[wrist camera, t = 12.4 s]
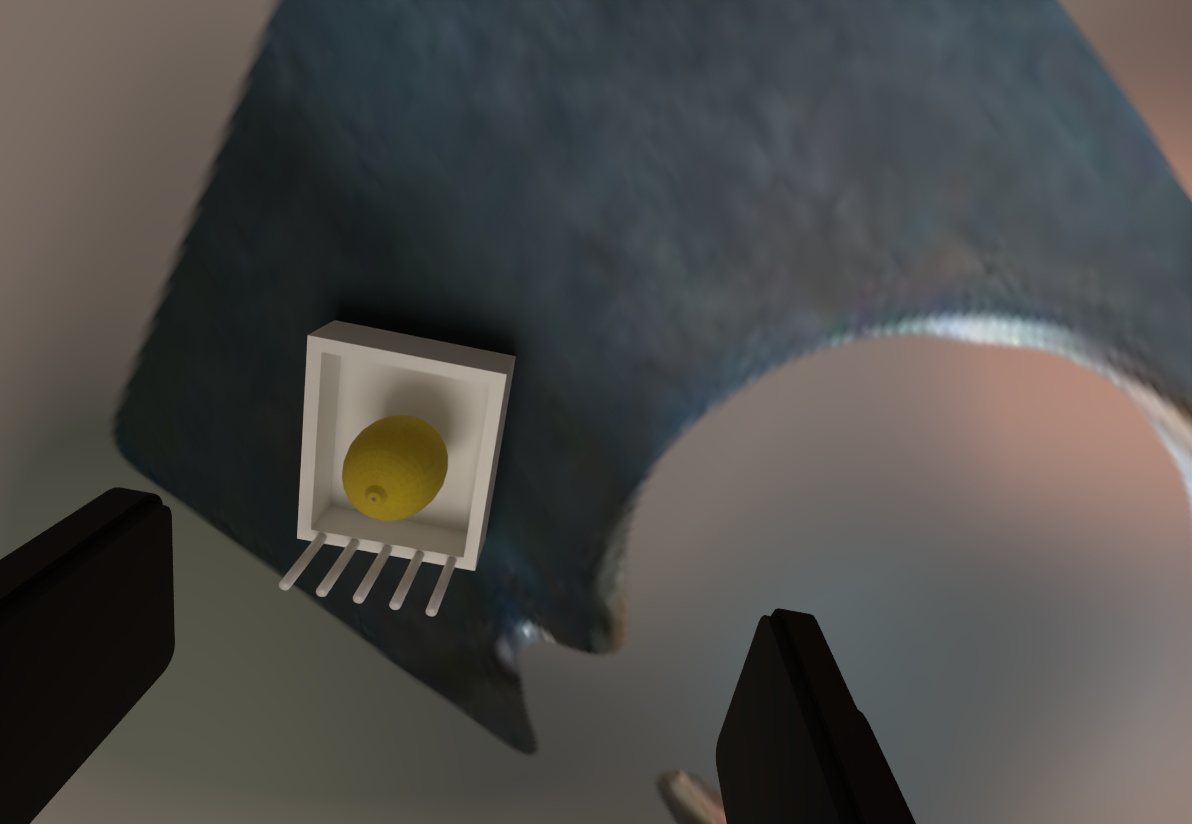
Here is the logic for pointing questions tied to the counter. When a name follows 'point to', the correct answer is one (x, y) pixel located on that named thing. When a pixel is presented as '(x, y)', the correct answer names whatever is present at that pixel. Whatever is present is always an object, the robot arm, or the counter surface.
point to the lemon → (395, 468)
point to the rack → (389, 388)
